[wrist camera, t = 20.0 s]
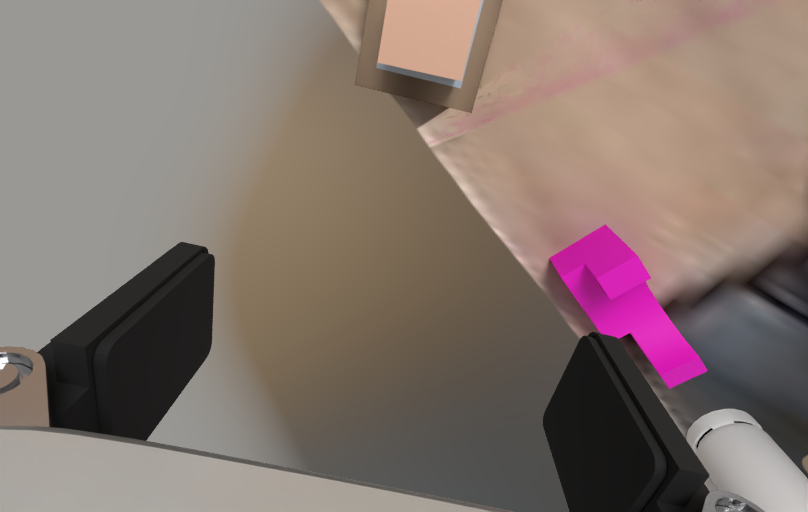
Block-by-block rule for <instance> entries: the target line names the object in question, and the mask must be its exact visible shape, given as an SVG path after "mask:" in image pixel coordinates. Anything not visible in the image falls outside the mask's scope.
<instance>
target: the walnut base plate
mask: <svg viewBox="0 0 808 512" xmlns="http://www.w3.org/2000/svg"><path fill="white" fill-rule="evenodd" d="M502 1H503V0H484V1H483V5H482V9H481V13H480V16H479V20H478V24H477V28H476V32H475V36H474V39H473V43H472V47H471V51H470V55H469V59H468V62H467V66H466V70H465V74H464V78H463V82H462V86H461V88H457V87H453V86H449V85H445V84H440V83H436V82H432V81H428V80H424V79H420V78H416V77H412V76H408V75H403V74H399V73H395V72H391V71H387V70H383V69H379V68H376V66H377V61H378V55H379V49H380V43H381V37H382V31H383V25H384V18H385V12H386V6H387V0H369V1H368V7H367V13H366V19H365V26H364V32H363V38H362V44H361V50H360V57H359V63H358V69H357V76H356V82H355V85H358V86H361V87H366V88H370V89H374V90H378V91H382V92H386V93H391V94H395V95H399V96H403V97H407V98H411V99H415V100H420V101H424V102H428V103H432V104H436V105H440V106H445V107H449V108H453V109H457V110H461V111H465V112H470V113H472V110H473V106H474V102H475V99H476V95H477V91H478V88H479V84H480V81H481V77H482V73H483V70H484V66H485V63H486V59H487V55H488V52H489V48H490V44H491V41H492V37H493V34H494V30H495V26H496V23H497V19H498V16H499V12H500V8H501V5H502Z"/></svg>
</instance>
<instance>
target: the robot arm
mask: <svg viewBox="0 0 808 512" xmlns="http://www.w3.org/2000/svg"><path fill="white" fill-rule="evenodd" d="M214 267H215V259H214V256H213V255H212V254H208V249H207V248H206V247H203V246H198V245H194V244H189V243H185V242H181V243H179V244H177V245H176V246H175V247H173V248H172V249H170V250H169V251H168V252H167V253H165V254H164V255H162V256H161V257H160V258H159V259H157V260H156V261H155V262H153V263H152V264H151V265H150V266H148V267H147V268H145V269H144V270H143V271H141V272H140V273H139V274H137V275H136V276H135V277H133V278H132V279H131V280H129V281H128V282H127V283H126V284H124V285H123V286H121V287H120V288H119V289H118V290H116V291H115V292H114V293H112V294H111V295H110V296H108V297H107V298H106V299H104V300H103V301H102V302H100V303H99V304H98V305H96V306H95V307H94V308H92V309H91V310H90V311H88V312H87V313H86V314H84V315H83V316H82V317H81V318H79V319H78V320H77V321H75V322H74V323H73V324H71V325H70V326H69V327H67V328H66V329H65V330H63V331H62V332H61V333H59V334H58V335H57V336H55V337H54V338H53V339H51V342H50V343H49V344H47V345H46V346H45V347H44V348H42V349H41V350H40V351H38V352H35V351H34V350H30V349H26V348H22V347H0V512H512V511H507V510H502V509H497V508H492V507H488V506H483V505H478V504H473V503H467V502H463V501H458V500H452V499H448V498H442V497H437V496H432V495H427V494H422V493H416V492H412V491H407V490H401V489H397V488H392V487H386V486H381V485H376V484H371V483H366V482H361V481H356V480H351V479H345V478H340V477H335V476H330V475H325V474H320V473H314V472H309V471H304V470H299V469H294V468H288V467H283V466H278V465H273V464H267V463H262V462H257V461H252V460H246V459H241V458H236V457H230V456H225V455H220V454H215V453H210V452H204V451H199V450H194V449H188V448H182V447H177V446H172V445H165V444H160V443H155V442H149V441H146V440H147V439H148V437H149V436H150V435H151V433H152V432H153V431H154V429H155V428H156V426H157V425H158V424H159V422H160V421H161V420H162V418H163V417H164V415H165V414H166V413H167V411H168V410H169V408H170V407H171V406H172V405H173V403H174V402H175V400H176V399H177V398H178V396H179V395H180V394H181V392H182V391H183V389H184V388H185V386H186V385H187V384H188V383H189V381H190V379H191V378H192V377H193V376H194V374H195V373H196V371H197V370H198V369H199V368H200V366H201V365H202V363H203V362H204V361H205V359H206V358H207V356H208V354H209V352H210V349H211V344H212V322H213V320H212V319H213V294H214ZM543 427H544V430H545V433H546V437H547V440H548V443H549V446H550V449H551V453H552V456H553V459H554V462H555V465H556V469H557V472H558V475H559V479H560V481H561V485H562V488H563V491H564V494H565V498H566V501H567V504H568V508H569V511H570V512H765V511H764V510H762V509H761V508H760V507H758V506H757V505H755V504H754V503H752V502H751V501H749V500H747V499H745V498H744V497H742V496H740V495H737V494H735V493H732V492H729V491H724V490H715V491H711V492H709V490H708V489H707V487H706V486H705V484H704V482H705V481H706V480H707V478H708V477H709V476H710V475H709V473H708V472H707V470H706V469H705V467H704V466H703V464H702V463H701V461H700V460H699V458H698V457H697V455H696V454H695V452H694V451H693V449H692V448H691V446H690V445H689V443H688V442H687V441H686V439H685V438H684V436H683V435H682V433H681V432H680V430H679V429H678V427H677V426H676V424H675V423H674V421H673V420H672V418H671V417H670V415H669V414H668V412H667V411H666V409H665V408H664V406H663V405H662V403H661V402H660V400H659V399H658V397H657V396H656V394H655V393H654V391H653V390H652V388H651V387H650V385H649V384H648V382H647V381H646V379H645V378H644V376H643V375H642V373H641V372H640V371H639V369H638V368H637V366H636V365H635V363H634V362H633V360H632V359H631V357H630V356H629V354H628V353H627V351H626V350H625V348H624V347H623V345H622V344H621V342H620V341H619V339H618V338H617V337H614V336H610V335H605V334H601V333H596V332H592V333H590V334H589V335H588V336H583V337H582V338H581V339H580V341H579V343H578V345H577V347H576V349H575V351H574V353H573V355H572V357H571V359H570V361H569V363H568V365H567V367H566V369H565V371H564V374H563V376H562V378H561V380H560V382H559V384H558V386H557V388H556V390H555V392H554V394H553V396H552V398H551V400H550V402H549V404H548V406H547V408H546V411H545V413H544V417H543Z"/></svg>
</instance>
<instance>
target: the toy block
mask: <svg viewBox="0 0 808 512" xmlns="http://www.w3.org/2000/svg"><path fill="white" fill-rule="evenodd" d="M550 260H551V261H552V263H553V265H554V267H555V268H556V270H557V272H558V273H559V275H560V277H561V278H562V280H563V281H564V282H565V284H566V285H567V287H568V288H569V290H570V291H571V293H572V294H573V295H574V297H575V298H576V300H577V301H578V303H579V304H580V305H581V307H582V308H583V309H584V311H585V312H586V313H587V315H588V316H589V317H590V319H591V320H592V322H593V323H594V324H595V326H596V327H597V329H598V330H599V332H600V333H601V334H605V335H610V336H614V337H617V338H618V339H619V338H621V337H623V336H625V335H627V334H629V333H630V334H631V335H632V337H633V338H634V340H635V341H636V343H637V344H638V346H639V347H640V349H641V350H642V351H643V353H644V354H645V355H646V357H647V358H648V360H649V361H650V362H651V364H652V365H653V367H654V368H655V369H656V371H657V372H658V374H659V375H660V376H661V378H662V379H663V380H664V382H665V383H666V385H667V386H668V387H669V388H672V387H674V386H676V385H678V384H680V383H682V382H685V381H687V380H689V379H691V378H693V377H696V376H698V375H700V374H702V373H704V372H706V371H707V369H706V367H705V366H704V364H703V362H702V361H701V359H700V357H699V356H698V355H697V354H696V353H695V351H694V350H693V349H692V348H691V347H690V345H689V344H688V343H687V342H686V340H685V339H684V338H683V336H682V335H681V334H680V333H679V331H678V330H677V329H676V327H675V326H674V325H673V323H672V322H671V320H670V319H669V318H668V316H667V315H666V314H665V312H664V311H663V309H662V308H661V306H660V305H659V303H658V302H657V300H656V299H655V297H654V296H653V294H652V292H651V291H650V289H649V287H648V285H647V284H646V282H645V281H647V280H649V279H650V278H651V277H650V275H649V274H648V272H647V270H646V269H645V267H644V265H643V264H642V262H641V260H640V259H639V257H638V256H637V254H635V253H634V252H633V251H632V250H631V249H630V248H629V247H628V246H627V245H626V244H625V243H624V242H623V241H622V240H621V239H620V238H619V237H618V236H617V235H616V234H615V233H614V232H613V231H612V230H611V229H609V228H608V227H607V226H606V225H604V226H602V227H600V228H599V229H597V230H595V231H594V232H592V233H590V234H589V235H587V236H585V237H584V238H582V239H580V240H579V241H577V242H575V243H574V244H572V245H571V246H569V247H567V248H566V249H564V250H562V251H561V252H559V253H557V254H556V255H554V256H552V257H551V258H550Z"/></svg>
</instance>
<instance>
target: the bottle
mask: <svg viewBox="0 0 808 512" xmlns="http://www.w3.org/2000/svg"><path fill="white" fill-rule="evenodd" d="M734 421H743V422H747V423H751V424H752V425H750V424H746V423H734ZM711 428H712V429H713V430H712V431H710V432H709V433H707V434H706V435H705V436H704V437H703V438H702V440H701V441H700V442H699V445H698V448H696V446H697V443H698V440H699V439H700V438H701V436H702V435H703V434H704V433H705V432H706V431H708V430H709V429H711ZM686 440H687V442H688V443H689V445H690V446H691V448H692V449H693V451H694V452H695V454H696V455H697V457H698V458H699V460H700V461H701V463H702V464H703V466H704V467H705V469H706V470H707V472H708V473H709V475H710V476H709V477H710V479H711V480H712V482H713V483H714V485H715V486H716V488H717V489H718V490H724V491H729V492H732V493H735V494H737V495H740V496H742V497H744V498H745V499H747V500H749V501H751V502H752V503H754V504H755V505H757V506H758V507H760V508H761V509H762V510H764V511H765V512H808V478H807V477H806V476H805V475H804V474H803V473H802V472H801V471H800V469H799V468H798V467H797V466H796V465H795V464H794V463H793V462H792V461H791V459H790V458H789V457H788V456H787V455H786V454H785V453H784V452H783V451H782V449H781V448H780V447H779V446H778V445H777V444H776V443H775V442H774V441H773V439H772V438H771V437H770V436H769V435H768V434H767V433H766V432H765V431H763V429H762V428H761V426H760V425H759V424H758V423H757V422H756V420H755V419H754V418H753V417H752V416H751V415H749V414H748V413H746V412H745V411H741V410H737V409H721V410H717V411H712V412H710V413H708V414H706V415H703V416H702V417H700V418H699V419H698V420H696V421H695V422H694V423H693V424H692V425H691V427H690V428H689V429H688V432H687V435H686Z"/></svg>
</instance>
